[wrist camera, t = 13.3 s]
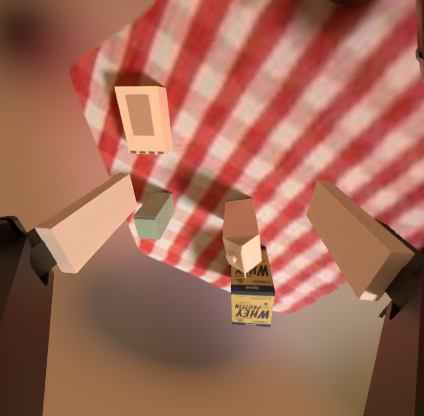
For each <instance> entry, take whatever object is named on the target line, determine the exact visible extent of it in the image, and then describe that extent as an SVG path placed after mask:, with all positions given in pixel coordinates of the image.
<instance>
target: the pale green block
mask: <svg viewBox="0 0 424 416" xmlns="http://www.w3.org/2000/svg"><path fill="white" fill-rule="evenodd" d="M174 212H175V211H174V203H173V195H172V193H167V192H154V193H153V194H152V195H151V196H150V197H149V198H148V200H147V201H146V202H145V203H144V204H143V205H142V206H141V208H140V209H139V210H138V211H137V212H136V213H135V215H134V216H133V218H134V221H135V225H136V229H137V233H138V236H139V238H148V239H160V238H161V236H162V234H163V233H164V231H165V229H166V227H167V225H168V223H169V221H170V219H171V218H172V216H173V214H174Z"/></svg>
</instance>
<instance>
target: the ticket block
mask: <svg viewBox="0 0 424 416" xmlns="http://www.w3.org/2000/svg"><path fill="white" fill-rule="evenodd" d="M114 88H115V92H116V96H117V101H118V105H119V109H120V114H121V118H122V122H123V127H124V131H125V135H126V140H127V144H128V148H129V153H130V154H167V153H168V152H170V151H171V150H172V149H173V147H172V138H171V129H170V120H169V111H168V102H167V93H166V88H164V87H159V86H122V87H114Z"/></svg>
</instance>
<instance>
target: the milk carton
mask: <svg viewBox="0 0 424 416" xmlns="http://www.w3.org/2000/svg"><path fill="white" fill-rule="evenodd" d="M223 243H224V247H225V252H226V259H227V261H228V263H229V264H230V265H232V266H233V267H235V268H237V269H238V270H240V271H241V272H243V273H244V275H245V278H246V273H247V272H248V271H250V270H251V269H252V268H253V267H255V266H256V265H257V264H259V263H260V262H261V261H262V258H261V247H260V236H259V231H258V225H257V220H256V215H255V209H254V204H253V199H252V198H250V199H242V200H234V201H226V202H225V213H224V225H223Z"/></svg>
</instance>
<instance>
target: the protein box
mask: <svg viewBox="0 0 424 416" xmlns="http://www.w3.org/2000/svg"><path fill="white" fill-rule="evenodd" d="M261 258H262V261H261V262H260V263H259V264H257V265H256V266H255V267H253V268H252V269H251V270H250V271H248V272H247V273H246V278H245V275H244V273H243V272H241V271H240V270H238V269H237V268H235V267H233V266H232V265H231V305H232V324H238V325H252V326H264V327H270V324H271V317H272V310H273V304H274V298H275V289H274V284H273V280H272V275H271V270H270V265H269V261H268V256H267V251H266V247H261Z"/></svg>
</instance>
